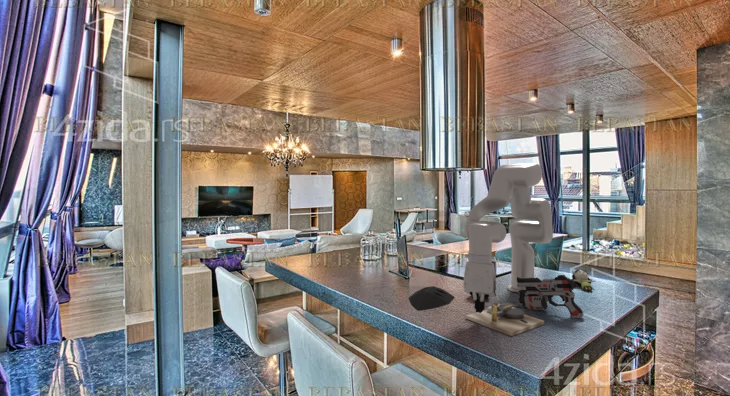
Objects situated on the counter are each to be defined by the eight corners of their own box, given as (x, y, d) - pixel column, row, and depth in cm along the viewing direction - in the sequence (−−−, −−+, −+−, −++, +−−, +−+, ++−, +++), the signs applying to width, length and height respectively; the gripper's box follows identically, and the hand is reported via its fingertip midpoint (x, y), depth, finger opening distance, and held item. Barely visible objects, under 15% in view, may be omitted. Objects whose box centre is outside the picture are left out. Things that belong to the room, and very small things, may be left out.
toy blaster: (523, 313, 140) (516, 275, 141) (584, 316, 127) (576, 273, 128) (520, 316, 137) (513, 277, 138) (583, 319, 124) (574, 275, 125)
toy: (577, 283, 158) (567, 266, 172) (575, 297, 161) (565, 279, 174) (603, 284, 156) (590, 267, 170) (601, 298, 158) (589, 280, 172)
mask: (396, 297, 137) (420, 279, 164) (396, 309, 137) (420, 289, 164) (440, 303, 129) (458, 284, 156) (440, 316, 130) (458, 294, 156)
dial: (508, 309, 131) (508, 296, 131) (528, 316, 124) (528, 301, 124) (482, 317, 123) (482, 302, 123) (502, 324, 116) (503, 309, 116)
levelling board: (498, 309, 136) (498, 298, 135) (543, 324, 120) (544, 312, 120) (466, 318, 126) (466, 306, 126) (511, 336, 111) (511, 322, 111)
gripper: (455, 258, 124) (454, 310, 124) (499, 263, 115) (498, 319, 115) (463, 255, 130) (462, 304, 130) (505, 259, 121) (504, 313, 121)
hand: (479, 311), depth 123 cm, fingers closed
